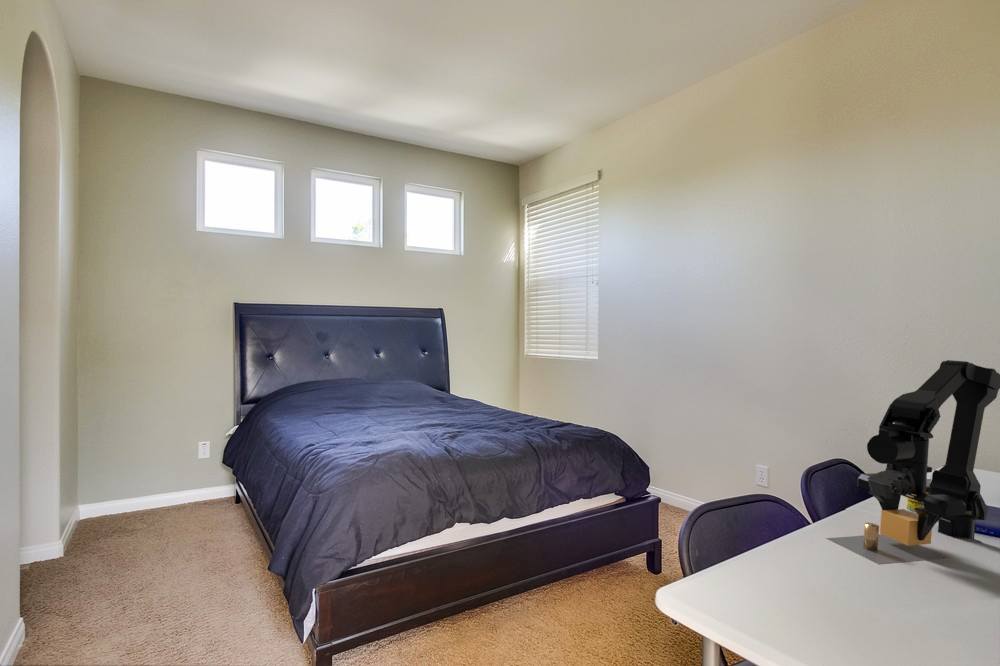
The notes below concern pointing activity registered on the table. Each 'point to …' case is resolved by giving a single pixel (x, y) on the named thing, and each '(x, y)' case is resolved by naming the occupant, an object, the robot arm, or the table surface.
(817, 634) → the table surface
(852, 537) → the plate
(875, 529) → the copper post
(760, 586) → the table surface
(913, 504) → the supplement bottle
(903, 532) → the cardboard cube
